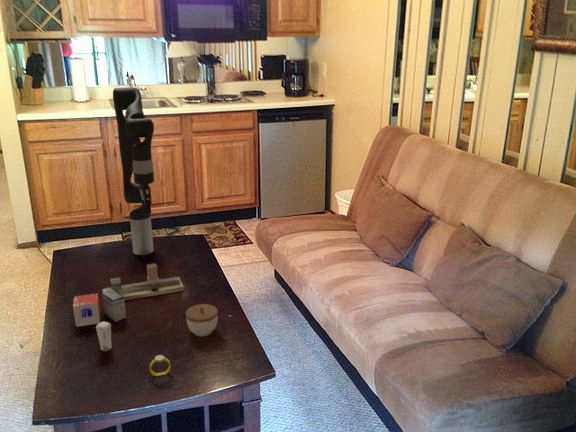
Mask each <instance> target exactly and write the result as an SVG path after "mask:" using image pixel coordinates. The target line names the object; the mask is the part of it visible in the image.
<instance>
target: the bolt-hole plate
mask: <svg viewBox="0 0 576 432" xmlns="http://www.w3.org/2000/svg"><path fill="white" fill-rule="evenodd" d="M110 290H114V291H115V292H117V293H118V294H120V295H122V296H123V297H124V302H125V301H130V300H135V299H136V300H137V299H141V298H147V297H154V296H160V295H165V294H172V293H176V292H177V293H178V292H184V291H185V287H184V284H183V282H182V280H181V278H180V276H174V277H169V278H162V279H159V283H155V288H154V287H153V284H149V283H148V281H143V282H137V283H130V284H123V285H122V281H121V277H115V278H110V287H105V288H103V289H102V293H104V292H107V291H110Z"/></svg>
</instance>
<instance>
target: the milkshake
mask: <svg viewBox="0 0 576 432" xmlns="http://www.w3.org/2000/svg"><path fill="white" fill-rule="evenodd" d="M95 330H96V334H97V337H98V342H99V347H100V350H101V351H103V352H108V351H110V350H111V349H112V324H111V323H110V322H107V321H100V323H98V324H96V326H95Z"/></svg>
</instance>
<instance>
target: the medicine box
mask: <svg viewBox="0 0 576 432" xmlns="http://www.w3.org/2000/svg"><path fill="white" fill-rule="evenodd" d="M101 296H102V297H101V299H102V307H103V308H102V309H103V314H104V315H105V316H106V317H108V318H109V319H110V320H112V321H113V322H115V323H116V322H118V321H121V320H124V319H126V318H127V315H126V305H125V301H124V297H123V296H122V295H120V294H118V293H117V292H115V291H114V290H110V291H107V292H104V293H103V292H102V293H101Z"/></svg>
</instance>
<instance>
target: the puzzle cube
mask: <svg viewBox="0 0 576 432" xmlns="http://www.w3.org/2000/svg"><path fill="white" fill-rule="evenodd" d="M72 311H73V316H74V324H75V327H76V328H78V327H84V326H90V325H98V324H99V323H101V307H100V300H99V293H89V294H84V295H83V294H81V295H75V296H74V297H73V304H72Z"/></svg>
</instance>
